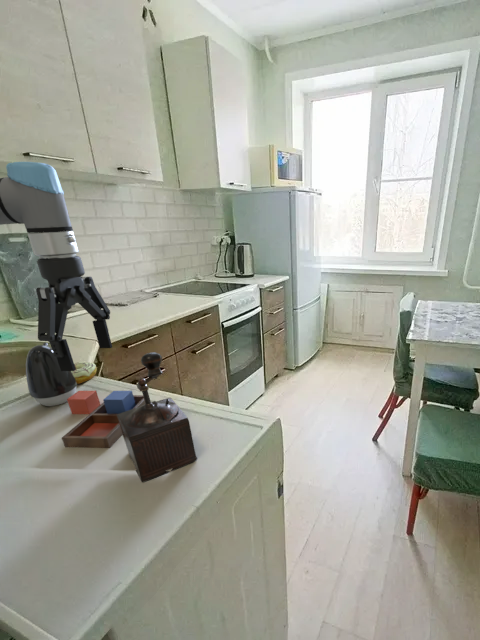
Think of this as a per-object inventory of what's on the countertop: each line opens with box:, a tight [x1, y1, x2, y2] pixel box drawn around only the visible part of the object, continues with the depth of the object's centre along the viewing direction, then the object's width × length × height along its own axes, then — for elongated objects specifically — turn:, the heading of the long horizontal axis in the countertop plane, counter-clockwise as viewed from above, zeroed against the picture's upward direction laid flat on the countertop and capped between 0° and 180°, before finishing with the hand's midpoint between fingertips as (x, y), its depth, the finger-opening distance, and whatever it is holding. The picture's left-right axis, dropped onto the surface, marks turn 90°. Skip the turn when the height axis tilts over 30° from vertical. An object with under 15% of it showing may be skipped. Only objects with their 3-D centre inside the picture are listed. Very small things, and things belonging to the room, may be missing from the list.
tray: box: [61, 394, 145, 449], centre depth 78 cm, size 10×18×3 cm, turn 175°
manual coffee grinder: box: [117, 351, 198, 483], centre depth 65 cm, size 16×11×18 cm
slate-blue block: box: [102, 390, 136, 414], centre depth 81 cm, size 4×4×4 cm
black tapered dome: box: [25, 342, 78, 407], centre depth 88 cm, size 10×10×15 cm
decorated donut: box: [71, 361, 98, 385], centre depth 103 cm, size 10×11×4 cm
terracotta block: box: [67, 390, 101, 415], centre depth 84 cm, size 4×4×4 cm
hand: (88, 358), depth 78 cm, fingers open, 13 cm apart
